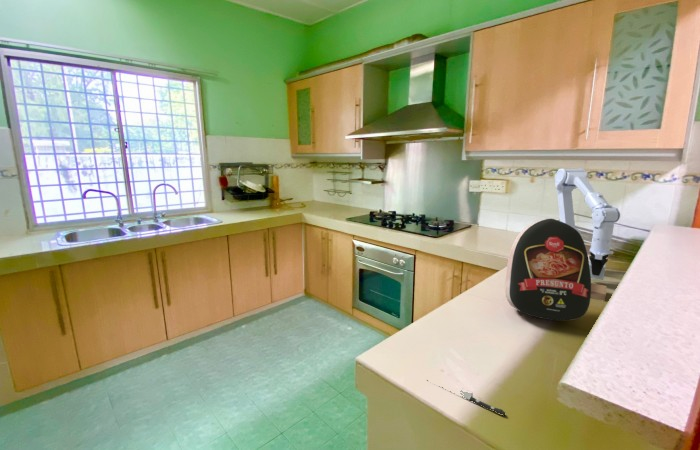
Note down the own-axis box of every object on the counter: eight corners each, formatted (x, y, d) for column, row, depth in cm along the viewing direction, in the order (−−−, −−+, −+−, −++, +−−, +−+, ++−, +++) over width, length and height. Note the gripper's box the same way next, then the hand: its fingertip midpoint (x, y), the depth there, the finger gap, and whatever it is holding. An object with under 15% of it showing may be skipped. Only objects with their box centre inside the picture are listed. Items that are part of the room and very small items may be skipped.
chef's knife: (421, 371, 74) (414, 377, 72) (421, 366, 74) (415, 372, 72) (509, 410, 62) (505, 419, 60) (509, 405, 62) (505, 414, 60)
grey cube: (586, 277, 122) (588, 265, 121) (587, 273, 126) (589, 261, 125) (603, 280, 119) (605, 267, 118) (603, 276, 123) (605, 264, 122)
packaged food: (509, 323, 94) (520, 225, 88) (497, 296, 113) (506, 213, 106) (595, 334, 88) (613, 229, 82) (568, 303, 107) (581, 216, 101)
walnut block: (572, 295, 114) (574, 287, 114) (575, 287, 121) (576, 280, 120) (604, 302, 109) (605, 294, 108) (604, 293, 116) (606, 286, 115)
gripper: (615, 244, 112) (608, 280, 114) (615, 236, 122) (609, 269, 125) (590, 241, 116) (584, 276, 119) (592, 234, 127) (587, 266, 130)
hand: (595, 272), depth 122 cm, fingers closed on grey cube, 5 cm apart
